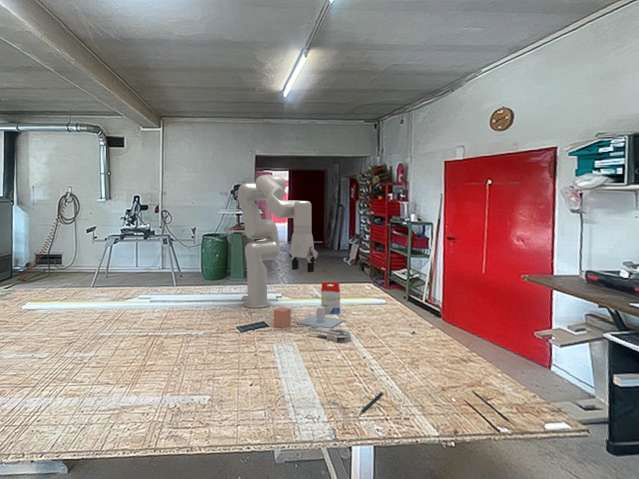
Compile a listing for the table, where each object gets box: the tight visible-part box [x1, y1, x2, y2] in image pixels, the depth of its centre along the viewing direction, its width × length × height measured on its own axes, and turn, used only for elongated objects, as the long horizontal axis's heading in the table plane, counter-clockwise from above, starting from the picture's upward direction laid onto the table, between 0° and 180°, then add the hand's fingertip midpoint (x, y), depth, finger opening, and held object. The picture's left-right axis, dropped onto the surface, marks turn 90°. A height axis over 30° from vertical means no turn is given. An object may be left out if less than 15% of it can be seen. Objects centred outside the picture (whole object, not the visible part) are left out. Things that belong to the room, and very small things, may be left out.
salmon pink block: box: [273, 307, 292, 329], centre depth 204 cm, size 5×5×7 cm
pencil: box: [358, 392, 384, 416], centre depth 129 cm, size 1×1×15 cm
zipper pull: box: [307, 326, 352, 344], centre depth 188 cm, size 8×18×4 cm, turn 59°
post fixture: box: [296, 306, 345, 329], centre depth 210 cm, size 16×14×7 cm
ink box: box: [320, 281, 341, 315], centre depth 227 cm, size 8×5×15 cm, turn 84°
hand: (302, 270), depth 208 cm, fingers open, 9 cm apart
